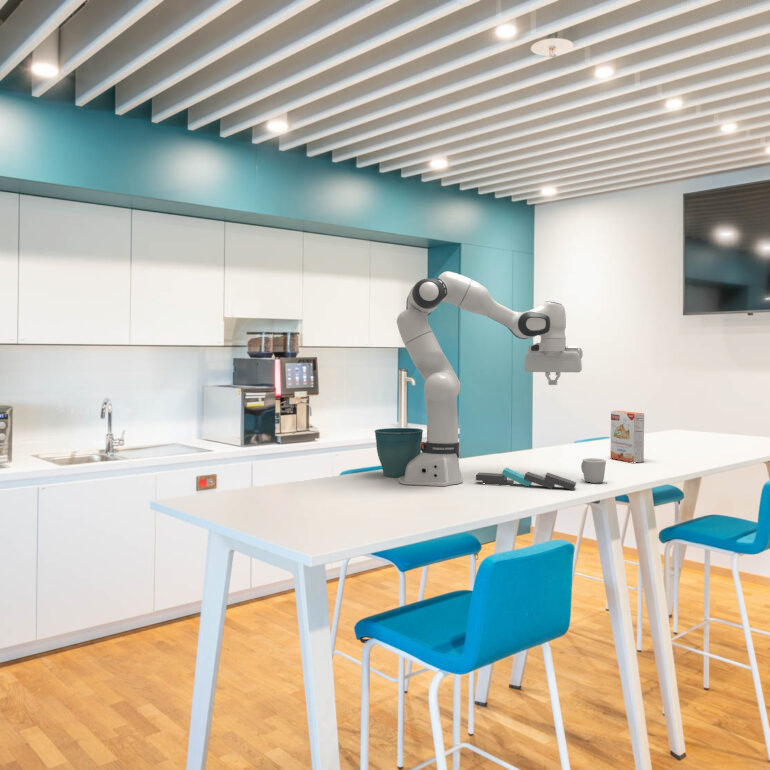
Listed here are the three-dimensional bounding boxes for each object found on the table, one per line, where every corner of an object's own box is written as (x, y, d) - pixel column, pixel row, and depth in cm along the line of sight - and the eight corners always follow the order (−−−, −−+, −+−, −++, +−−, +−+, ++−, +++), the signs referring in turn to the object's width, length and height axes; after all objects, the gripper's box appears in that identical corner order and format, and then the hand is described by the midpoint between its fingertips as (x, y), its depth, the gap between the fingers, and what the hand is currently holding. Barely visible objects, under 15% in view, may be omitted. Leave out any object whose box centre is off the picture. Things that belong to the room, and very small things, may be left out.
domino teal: (532, 479, 257) (506, 467, 260) (530, 481, 252) (503, 469, 256) (530, 484, 257) (504, 472, 261) (528, 487, 253) (501, 474, 256)
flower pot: (365, 477, 273) (365, 431, 272) (388, 470, 289) (388, 426, 288) (409, 481, 264) (410, 433, 264) (430, 473, 280) (430, 429, 280)
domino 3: (555, 481, 253) (527, 471, 257) (553, 483, 249) (525, 473, 252) (554, 486, 254) (526, 476, 257) (552, 489, 249) (523, 479, 252)
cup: (572, 479, 267) (573, 457, 267) (591, 478, 270) (591, 456, 270) (591, 484, 257) (591, 461, 257) (610, 483, 260) (610, 460, 260)
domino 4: (576, 482, 251) (547, 472, 254) (574, 484, 246) (545, 474, 249) (574, 487, 251) (545, 477, 254) (573, 490, 246) (544, 480, 250)
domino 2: (513, 480, 259) (485, 478, 263) (511, 482, 255) (482, 480, 258) (513, 485, 259) (485, 484, 263) (510, 488, 255) (482, 486, 258)
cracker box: (609, 459, 319) (610, 410, 318) (620, 458, 322) (621, 410, 321) (633, 463, 306) (633, 413, 305) (644, 462, 309) (644, 412, 308)
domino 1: (507, 474, 260) (479, 472, 263) (504, 476, 255) (475, 474, 258) (507, 479, 260) (479, 477, 263) (504, 482, 255) (475, 480, 259)
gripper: (583, 346, 267) (583, 385, 268) (527, 346, 275) (527, 384, 276) (581, 346, 261) (580, 385, 262) (523, 346, 269) (523, 384, 270)
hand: (552, 384), depth 269 cm, fingers closed
